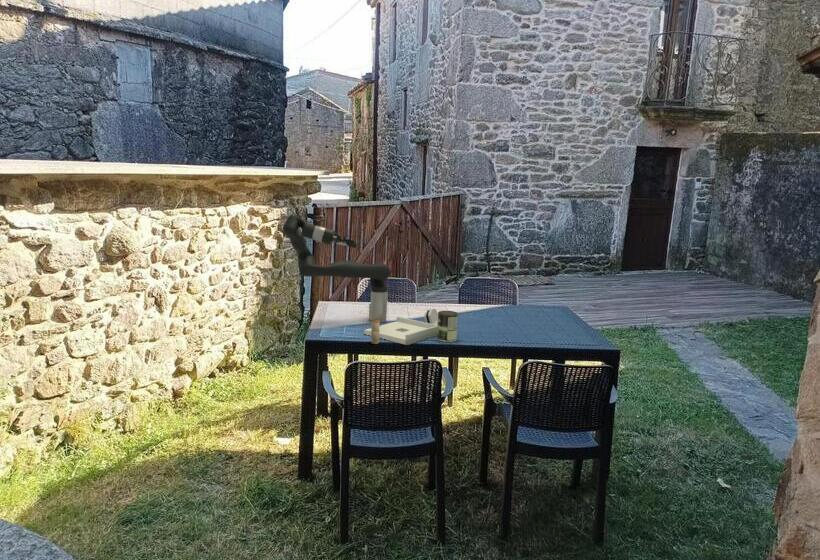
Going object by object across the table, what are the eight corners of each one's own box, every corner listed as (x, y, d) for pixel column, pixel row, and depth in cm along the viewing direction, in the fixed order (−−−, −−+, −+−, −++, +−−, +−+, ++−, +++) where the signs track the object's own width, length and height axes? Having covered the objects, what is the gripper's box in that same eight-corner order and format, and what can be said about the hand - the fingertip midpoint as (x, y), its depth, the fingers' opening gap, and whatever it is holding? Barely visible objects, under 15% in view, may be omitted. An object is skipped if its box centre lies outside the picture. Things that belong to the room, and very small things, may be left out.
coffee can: (436, 341, 320) (438, 314, 318) (436, 336, 330) (437, 310, 328) (457, 342, 320) (458, 315, 318) (456, 337, 330) (457, 311, 328)
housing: (364, 334, 328) (364, 325, 327) (397, 325, 350) (398, 316, 350) (407, 345, 312) (407, 335, 311) (439, 334, 334) (439, 325, 333)
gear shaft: (369, 342, 313) (369, 319, 311) (374, 341, 317) (375, 317, 315) (375, 344, 311) (376, 320, 309) (380, 342, 314) (381, 319, 312)
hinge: (435, 329, 346) (430, 311, 345) (427, 331, 347) (422, 313, 347) (442, 322, 362) (437, 305, 361) (434, 324, 363) (429, 307, 362)
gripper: (323, 244, 316) (354, 254, 315) (318, 240, 302) (351, 249, 301) (328, 230, 317) (359, 239, 316) (323, 225, 303) (355, 235, 302)
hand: (355, 244), depth 309 cm, fingers open, 8 cm apart
